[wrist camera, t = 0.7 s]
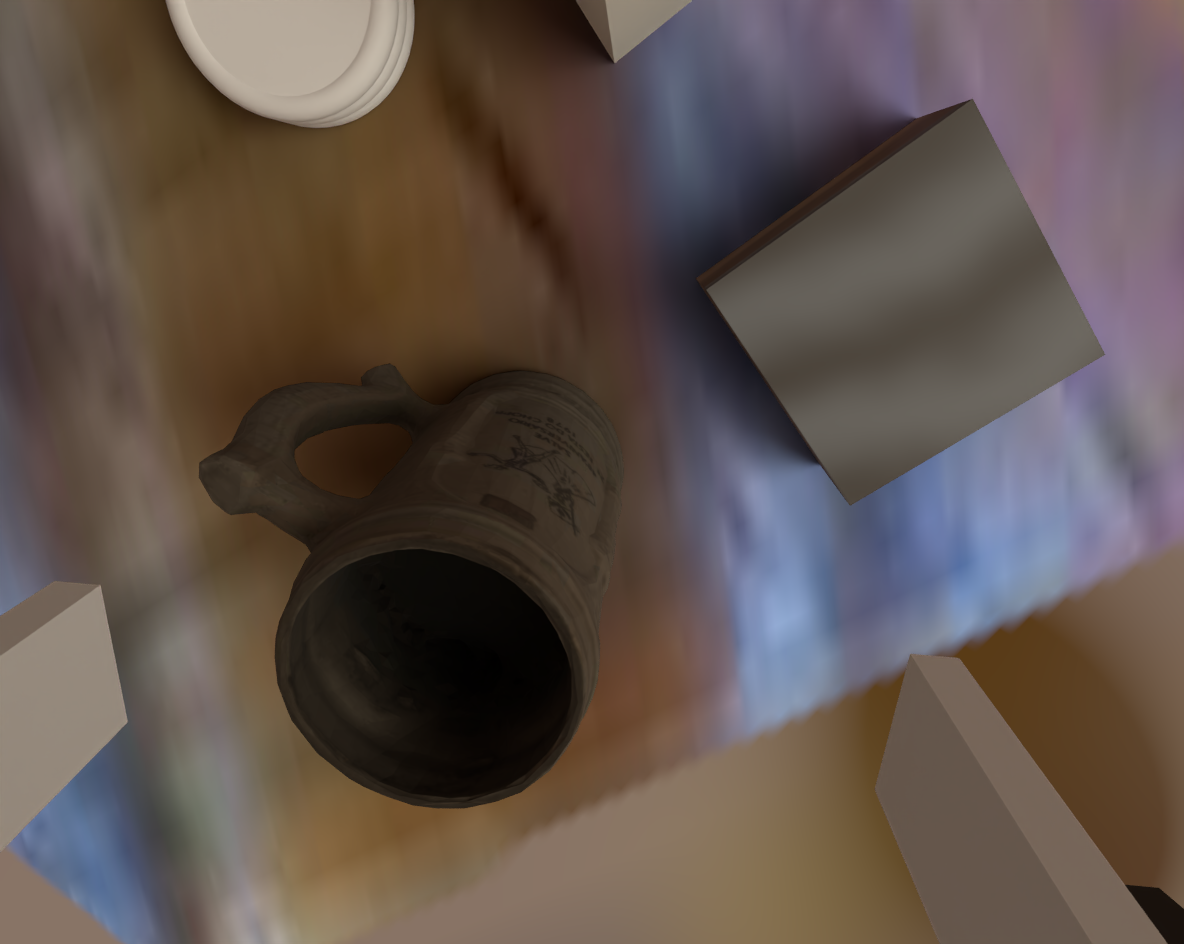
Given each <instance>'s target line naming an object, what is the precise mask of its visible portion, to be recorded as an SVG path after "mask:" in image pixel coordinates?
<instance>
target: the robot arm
mask: <svg viewBox="0 0 1184 944" xmlns="http://www.w3.org/2000/svg"><path fill="white" fill-rule="evenodd" d="M127 722H128V721H127V716H126V711H125V706H124V701H123V696H122V691H121V686H120V681H119V676H118V671H117V666H116V661H115V656H114V651H113V646H112V641H111V636H110V631H109V626H108V621H107V616H106V611H105V606H104V601H103V596H102V591H101V586H100V585H94V584H82V583H70V582H59V581H54V582H52V583H51V584H49V585H48V586H46V587H45V588H43V589H42V590H40V591H38V592H37V593H35V594H34V595H32V596H31V597H29V598H28V599H26V600H25V601H23V602H21V603H20V604H18V605H17V606H15V607H14V608H12V609H11V610H9V611H8V612H6V613H4V614H3V615H1V616H0V852H1V851H2V850H3V849H4V848H5V847H6V846H7V845H8V844H9V843H10V842H11V841H12V840H13V839H14V838H15V837H16V836H17V835H18V834H19V833H20V832H21V830H22V829H23V828H24V827H25V826H26V825H27V824H28V823H29V822H30V821H31V820H32V819H33V818H34V817H35V816H36V815H37V814H38V813H39V812H40V811H41V810H42V809H43V808H44V807H45V806H46V805H47V804H48V803H49V802H50V801H51V800H52V799H53V798H54V797H55V796H56V795H57V794H58V793H59V792H60V791H61V790H62V789H63V788H64V787H65V786H66V785H67V784H68V783H69V782H70V781H71V779H72V778H73V777H74V776H75V775H76V774H77V773H78V772H79V771H80V770H81V769H82V768H83V767H84V766H85V765H86V764H87V763H88V762H89V761H90V760H91V759H92V758H93V757H94V756H95V755H96V754H97V753H98V752H99V751H100V750H101V749H102V748H103V747H104V746H105V745H106V744H107V743H108V742H109V741H110V740H111V739H112V738H113V737H114V736H115V735H116V734H117V733H118V732H119V731H120V730H121V728H122V727H123V726H124V725H125V724H126V723H127ZM875 791H876V793H877V796H878V798H879V801H880V803H881V805H882V808H883V810H884V812H885V815H886V817H887V819H888V822H889V824H890V827H891V829H892V832H893V834H894V836H895V838H896V841H897V843H898V846H899V848H900V850H901V853H902V855H903V858H904V860H905V862H906V865H907V867H908V870H909V872H910V874H911V877H912V879H913V882H914V884H915V886H916V889H917V891H918V893H919V896H920V898H921V901H922V903H923V905H924V908H925V910H926V912H927V915H928V917H929V920H930V922H931V924H932V927H933V929H934V931H935V934H936V936H937V939H938V941H939V943H940V944H1184V909H1183V908H1182V907H1181V906H1180V905H1178V904H1177V903H1176V902H1175V901H1174V900H1173V899H1171V898H1170V897H1169V896H1168V895H1167V894H1165V893H1164V892H1163V891H1162V890H1161V889H1159V888H1154V887H1142V886H1131V885H1124V883H1123V882H1122V881H1121V879H1120V878H1119V876H1118V875H1117V874H1116V872H1115V871H1114V870H1113V869H1112V867H1111V866H1110V864H1109V863H1108V861H1107V860H1106V859H1105V857H1104V856H1103V855H1102V853H1101V852H1100V851H1099V849H1098V848H1097V846H1096V845H1095V844H1094V842H1093V841H1092V840H1091V838H1090V837H1089V835H1088V834H1087V833H1086V831H1085V830H1084V829H1083V827H1082V826H1081V824H1080V823H1079V822H1078V821H1077V819H1076V818H1075V816H1074V815H1073V814H1072V812H1071V811H1070V809H1069V808H1068V807H1067V805H1066V804H1065V803H1064V801H1063V800H1062V799H1061V797H1060V796H1059V794H1058V793H1057V792H1056V790H1055V789H1054V788H1053V786H1052V785H1051V783H1050V782H1049V781H1048V779H1047V778H1046V777H1045V775H1044V774H1043V772H1042V771H1041V770H1040V768H1039V767H1038V766H1037V764H1036V763H1035V762H1034V760H1033V759H1032V757H1031V756H1030V755H1029V753H1028V752H1027V751H1026V749H1025V748H1024V746H1023V745H1022V744H1021V742H1020V741H1019V740H1018V738H1017V737H1016V735H1015V734H1014V733H1013V731H1012V730H1011V729H1010V727H1009V726H1008V725H1007V723H1006V722H1005V720H1004V719H1003V718H1002V716H1001V715H1000V714H999V712H998V711H997V710H996V708H995V707H994V705H993V704H992V703H991V701H990V700H989V699H988V697H987V696H986V695H985V693H984V692H983V690H982V689H981V688H980V686H979V685H978V684H977V682H976V681H975V679H974V678H973V677H972V675H971V674H970V673H969V671H968V670H967V669H966V667H965V666H964V664H963V663H962V662H961V660H960V659H959V658H951V657H940V656H928V655H916V654H910V657H909V661H908V665H907V668H906V672H905V676H904V680H903V684H902V688H901V691H900V696H899V699H898V703H897V707H896V710H895V714H894V718H893V722H892V726H891V729H890V733H889V737H888V741H887V745H886V749H885V752H884V756H883V760H882V764H881V768H880V772H879V775H878V779H877V783H876V787H875Z"/></svg>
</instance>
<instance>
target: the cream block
mask: <svg viewBox="0 0 1184 944" xmlns="http://www.w3.org/2000/svg"><path fill="white" fill-rule="evenodd" d="M691 1H692V0H576V2H577V4H578V5H579V7H580V9H581V10H582V12H583V13H584V15H585V17H586V18H587V20H588V21H589V23H590V25H591V26H592V28H593V30H594V31H595V33H596V34H597V36H598V38H599V39H600V41H601V42H602V44H603V46H604V47H605V49H606V50H607V52H608V54H609V55H610V57H611V59H612V60H613V62H614V63H616V62H617V61H618V60H619V59H621V58H622V57H623V56H624V55H626V54H627V53H628V52H629V51H630V50H632V49H633V48H634V47H635V46H637V45H638V44H639V43H640V42H642V41H643V40H644V39H645V38H646V37H648V36H649V35H650V34H651V33H653V32H654V31H655V30H656V29H658V28H659V27H660V26H661V25H663V24H664V23H665V22H666V21H667V20H669V19H670V18H671V17H672V16H674V15H675V14H676V13H677V12H679V11H680V10H681V9H682V8H683V7H685V6H686V5H687V4H688V3H690V2H691Z"/></svg>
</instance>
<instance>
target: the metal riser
mask: <svg viewBox="0 0 1184 944" xmlns="http://www.w3.org/2000/svg"><path fill="white" fill-rule="evenodd" d="M696 279H697V281H698V282H699V284H700V285H701V287H702V288H703V290H704V291H705V293H706V294H707V296H708V297H709V299H710V300H711V302H712V303H713V305H714V306H715V308H716V309H717V311H718V312H719V314H720V315H721V317H722V318H723V320H724V321H725V323H726V324H727V326H728V327H729V329H730V330H731V332H732V333H733V335H734V336H735V338H736V339H737V341H738V342H739V344H740V345H741V347H742V348H743V350H744V351H745V353H746V354H747V356H748V357H749V359H750V360H751V362H752V363H753V365H754V366H755V368H756V369H757V371H758V372H759V374H760V375H761V377H762V378H763V380H764V381H765V383H766V384H767V386H768V387H769V389H770V390H771V392H772V393H773V395H774V396H775V398H776V399H777V401H778V402H779V404H780V405H781V407H782V408H783V410H784V411H785V413H786V414H787V416H788V417H789V419H790V420H791V422H792V423H793V425H794V426H795V428H796V429H797V431H798V432H799V434H800V435H801V437H802V438H803V440H804V441H805V443H806V444H807V446H808V447H809V449H810V450H811V452H812V453H813V455H814V456H815V458H816V459H817V461H818V462H819V464H820V465H821V467H822V468H823V469H824V471H825V472H826V474H827V475H828V476H829V478H830V479H831V480H832V482H833V483H834V485H835V486H836V487H837V489H838V490H839V491H840V493H841V494H842V495H843V497H844V498H845V500H846V501H847V502H848V504H849V505H852V504H854V503H855V502H857V501H859V500H860V499H862V498H864V497H866V496H867V495H869V494H871V493H872V492H874V491H876V490H877V489H879V488H881V487H882V486H884V485H886V484H887V483H889V482H891V481H893V480H894V479H896V478H898V477H899V476H901V475H903V474H904V473H906V472H908V471H909V470H911V469H913V468H914V467H916V466H918V465H920V464H921V463H923V462H925V461H926V460H928V459H930V458H931V457H933V456H935V455H936V454H938V453H940V452H941V451H943V450H945V449H947V448H948V447H950V446H952V445H953V444H955V443H957V442H958V441H960V440H962V439H963V438H965V437H967V436H968V435H970V434H972V433H974V432H975V431H977V430H979V429H980V428H982V427H984V426H985V425H987V424H989V423H990V422H992V421H994V420H995V419H997V418H999V417H1001V416H1002V415H1004V414H1006V413H1007V412H1009V411H1011V410H1012V409H1014V408H1016V407H1017V406H1019V405H1021V404H1022V403H1024V402H1026V401H1028V400H1029V399H1031V398H1033V397H1034V396H1036V395H1038V394H1039V393H1041V392H1043V391H1044V390H1046V389H1048V388H1049V387H1051V386H1053V385H1055V384H1056V383H1058V382H1060V381H1061V380H1063V379H1065V378H1066V377H1068V376H1070V375H1071V374H1073V373H1075V372H1076V371H1078V370H1080V369H1082V368H1083V367H1085V366H1087V365H1088V364H1090V363H1092V362H1093V361H1095V360H1097V359H1098V358H1100V357H1102V356H1103V355H1105V353H1104V351H1103V350H1102V348H1101V346H1100V344H1099V342H1098V340H1097V338H1096V336H1095V334H1094V332H1093V330H1092V328H1091V326H1090V324H1089V323H1088V321H1087V319H1086V317H1085V315H1084V313H1083V311H1082V309H1081V307H1080V305H1079V303H1078V301H1077V299H1076V297H1075V295H1074V294H1073V292H1072V290H1071V288H1070V286H1069V284H1068V282H1067V280H1066V278H1065V276H1064V274H1063V272H1062V270H1061V268H1060V266H1059V265H1058V263H1057V261H1056V259H1055V257H1054V255H1053V253H1052V251H1051V249H1050V247H1049V245H1048V243H1047V241H1046V239H1045V237H1044V236H1043V234H1042V232H1041V230H1040V228H1039V226H1038V224H1037V222H1036V220H1035V218H1034V216H1033V214H1032V212H1031V210H1030V209H1029V207H1028V205H1027V203H1026V201H1025V199H1024V197H1023V195H1022V193H1021V191H1020V189H1019V187H1018V185H1017V183H1016V181H1015V180H1014V178H1013V176H1012V174H1011V172H1010V170H1009V168H1008V166H1007V164H1006V162H1005V160H1004V158H1003V156H1002V154H1001V152H1000V151H999V149H998V147H997V145H996V143H995V141H994V139H993V137H992V135H991V133H990V131H989V129H988V127H987V125H986V124H985V122H984V120H983V118H982V116H981V114H980V112H979V110H978V108H977V106H976V104H975V102H974V100H973V99H971V100H968V101H965V102H962V103H959V104H957V105H954V106H951V107H948V108H945V109H942V110H939V111H936V112H934V113H931V114H928V115H925V116H922V117H919V118H917V119H915V120H914V121H913V122H911V123H910V124H908V125H907V126H906V127H904V128H903V129H902V130H900V131H899V132H897V133H896V134H895V135H893V136H892V137H891V138H889V139H888V140H886V141H885V142H884V143H882V144H881V145H879V146H878V147H877V148H875V149H874V150H873V151H871V152H870V153H868V154H867V155H866V156H864V157H863V158H862V159H860V160H859V161H857V162H856V163H855V164H853V165H852V166H850V167H849V168H848V169H846V170H845V171H844V172H842V173H841V174H839V175H838V176H837V177H835V178H834V179H833V180H831V181H830V182H828V183H827V184H826V185H824V186H823V187H821V188H820V189H819V190H817V191H816V192H815V193H813V194H812V195H810V196H809V197H808V198H806V199H805V200H804V201H802V202H801V203H799V204H798V205H797V206H795V207H794V208H792V209H791V210H790V211H788V212H787V213H786V214H784V215H783V216H781V217H780V218H779V219H777V220H776V221H775V222H773V223H772V224H770V225H769V226H768V227H766V228H765V229H763V230H762V231H761V232H759V233H758V234H757V235H755V236H754V237H752V238H751V239H750V240H748V241H747V242H746V243H744V244H743V245H741V246H740V247H739V248H737V249H736V250H734V251H733V252H732V253H730V254H729V255H728V256H726V257H725V258H723V259H722V260H721V261H719V262H718V263H717V264H715V265H714V266H712V267H711V268H710V269H708V270H707V271H705V272H704V273H703V274H701V275H700V276H699V277H697V278H696Z"/></svg>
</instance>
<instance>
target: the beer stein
mask: <svg viewBox="0 0 1184 944" xmlns="http://www.w3.org/2000/svg"><path fill="white" fill-rule="evenodd" d="M361 380H362V386H355V385H348V384H340V383H311V382H305V383H300V384H294V385H288V386H285V387H282V388H278V389H275V390H273V391H271V392H270V393H268V394H267V395H265V396H264V397H262V398H260V399H259V400H258V401H257V402H256V403H255V404H254V406H253V407H252V408H251V409H250V410H249V411H248V412H247V413H246V415H245V416H244V417H243V419H242V421H241V423H240V425H239V427H238V429H237V432H236V434H235V436H234V438H233V440H232V442H231V443H230V444H229V445H227V446H226V447H225V448H224V449H223V450H220V451H218V452H216V453H214V454H212V455H210V456H209V457H207V458H206V459H204V460H203V461H201V462H200V465H199V479H200V480H201V482H202V484H203V485H204V487H205V489H206V491H207V492H208V494H209V496H210V497H211V499H212V501H213V502H214V503H215V504H216V505H218V506H219V507H220V508H221V509H222V510H224V511H225V512H226V513H228V514H230V515H234V514H244V513H255V512H256V513H257V514H259V515H260V516H262V517H264V518H266V519H267V520H269V521H270V522H272V523H273V524H275V525H276V526H277V527H279V528H280V529H282V530H283V531H285V532H286V533H288V534H290V535H291V536H293V537H294V538H296V539H298V540H299V541H301V542H303V543H304V544H306V546H307V547H308V549H309V550H310V552H311V554H310V555H309V556H308V558H307V559H306V560H305V562H304V564H303V566H302V568H301V570H300V572H299V574H298V576H297V577H296V579H295V581H294V583H293V587H292V591H291V594H290V598H289V600H288V603H287V605H286V607H285V609H284V612H283V614H282V616H281V618H280V621H279V625H278V630H277V634H276V641H275V664H276V674H277V683H278V686H279V689H280V692H281V694H282V697H283V700H284V702H285V705H286V708H287V710H288V713H289V715H290V717H291V720H292V721H293V723H294V724H295V725H296V727H297V728H298V729H299V730H300V732H301V733H302V734H303V735H304V737H305V738H306V739H307V741H308V742H309V743H310V744H311V746H312V747H313V748H314V750H315V751H316V752H317V753H318V754H319V755H320V756H321V757H323V758H324V759H325V760H326V761H328V762H329V763H330V764H332V765H333V766H334V767H335V768H337V769H338V770H339V771H340V772H342V773H343V774H344V775H345V776H347V777H348V778H349V779H351V780H353V781H355V782H356V783H358V784H360V785H362V786H363V787H366V788H368V789H370V790H373V791H375V792H377V793H380V794H382V795H384V796H387V797H390V798H393V799H396V800H399V801H402V802H405V803H407V804H410V805H415V806H423V807H431V808H468V807H473V806H478V805H482V804H487V803H492V802H496V801H499V800H501V799H504V798H507V797H510V796H512V795H515V794H518V793H520V792H522V791H523V790H525V789H526V788H527V787H529V786H530V785H531V784H533V783H534V782H535V781H537V780H538V779H539V778H541V777H542V776H543V775H545V774H546V773H547V772H549V771H550V770H551V768H552V767H553V766H554V765H555V763H556V762H557V761H558V759H559V758H560V757H561V756H562V754H563V753H564V752H565V750H566V749H567V747H568V745H569V744H570V742H571V740H572V739H573V737H574V735H575V733H576V732H577V730H578V728H579V725H580V722H581V720H582V719H583V717H584V715H585V713H586V711H587V709H588V706H589V704H590V702H591V700H592V698H593V695H594V691H595V688H596V684H597V681H598V672H599V659H600V640H599V635H598V632H599V623H600V614H601V606H602V599H603V596H604V594H605V592H606V590H607V588H608V584H609V581H610V571H611V567H612V564H613V559H614V552H615V545H616V544H615V533H616V527H617V521H618V519H619V516H620V513H621V506H622V503H621V487H622V482H623V474H624V467H623V457H622V452H621V448H620V444H619V441H618V438H617V435H616V433H615V430H614V428H613V425H612V423H611V422H610V420H609V419H608V418H607V416H606V415H605V413H604V412H603V410H602V409H601V408H600V407H599V406H598V405H597V404H596V403H595V402H594V401H593V400H592V399H591V398H590V397H589V396H588V395H587V394H586V393H585V392H583V391H582V390H580V389H578V388H577V387H575V386H573V385H571V384H570V383H568V382H566V381H565V380H562V379H560V378H557V377H554V376H551V375H548V374H543V373H536V372H529V371H512V372H506V373H500V374H495V375H492V376H490V377H488V378H485V379H483V380H480V381H478V382H476V383H474V384H472V385H470V386H469V387H468V388H466V389H465V390H464V391H462V392H461V393H460V394H459V395H458V396H457V397H456V398H455V399H454V400H452V401H451V402H450V403H449V404H445V405H433V404H431V403H429V402H427V401H424V400H422V399H421V398H420V397H419V396H418V395H417V394H415V393H414V392H413V391H412V389H411V388H410V387H409V385H408V384H407V383H406V381H405V380H404V379H403V377H402V376H401V374H400V373H399V372H398V370H397V369H396V367H395V366H393V365H391V364H385V365H381V366H377V367H374V368H372V369H370V370H368V371H367V372H366V373H365V374H364V375H363V376H362V377H361ZM379 423H391V424H395V425H399V426H401V427H402V428H404V429H405V430H407V431H408V432H409V433H410V435H411V438H412V441H413V444H412V445H411V447H410V448H409V450H408V451H407V452H406V454H405V455H404V456H403V457H402V458H401V460H400V461H399V462H398V463H397V464H396V466H395V467H394V468H393V469H392V470H391V471H390V472H389V473H388V474H387V475H386V476H385V477H384V478H383V479H382V480H381V482H380V483H379V484H378V485H377V487H376V488H375V489H374V490H373V491H372V493H371V494H370V495H369V496H366V497H364V498H361V499H355V498H350V497H344V496H338V495H335V494H333V493H330V492H327V491H325V490H322V489H320V488H319V487H317V486H316V485H314V484H313V483H311V482H310V481H309V480H307V479H306V478H304V477H303V476H302V475H301V473H300V472H299V470H298V467H297V465H296V462H295V459H294V450H295V449H296V448H297V447H298V446H299V445H300V444H301V443H302V442H304V441H305V440H306V439H307V438H309V437H312V436H315V435H317V434H320V433H323V432H324V431H328V430H332V429H336V428H341V427H346V426H351V425H360V424H379Z"/></svg>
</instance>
